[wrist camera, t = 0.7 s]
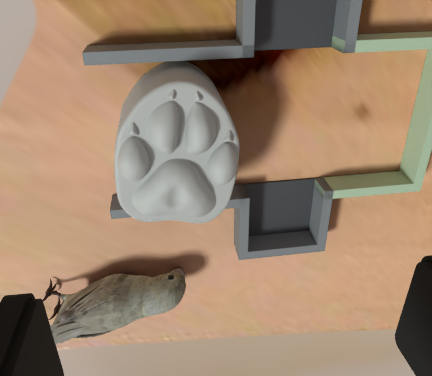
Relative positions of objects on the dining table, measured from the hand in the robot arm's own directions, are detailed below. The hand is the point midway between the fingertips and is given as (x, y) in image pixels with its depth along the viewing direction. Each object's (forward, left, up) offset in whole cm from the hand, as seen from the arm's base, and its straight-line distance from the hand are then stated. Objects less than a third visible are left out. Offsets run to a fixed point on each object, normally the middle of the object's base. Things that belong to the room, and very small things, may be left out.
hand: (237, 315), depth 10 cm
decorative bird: (-9, -25, -31) cm, 41 cm away
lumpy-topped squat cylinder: (-1, -7, -31) cm, 31 cm away
